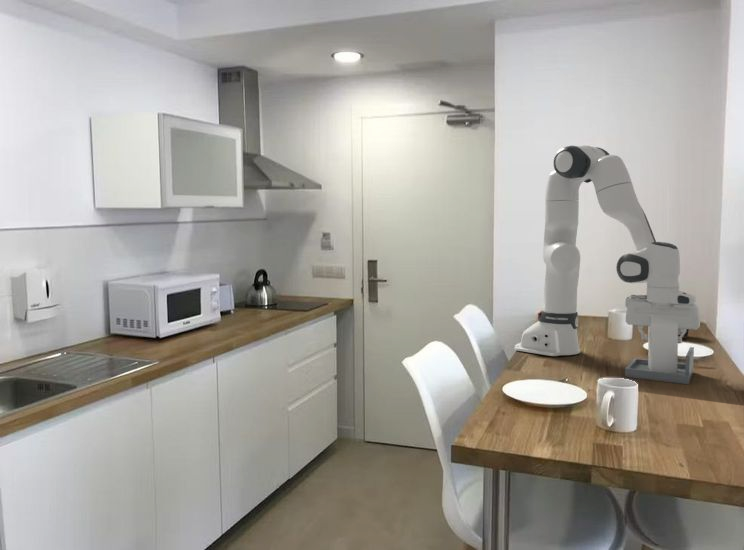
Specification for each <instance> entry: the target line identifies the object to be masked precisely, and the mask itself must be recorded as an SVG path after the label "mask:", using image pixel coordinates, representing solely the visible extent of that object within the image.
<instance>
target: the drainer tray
mask: <svg viewBox="0 0 744 550" xmlns="http://www.w3.org/2000/svg"><path fill="white" fill-rule="evenodd" d="M694 349H695V347H692V346H690V347H689V349H688V351H687V353H686V355H685V363H684V362H678V366H677V374H676V373H667V372H658V371H650V369H649V368H648V358H647V359H644V358H634V357H633V358H632V360H631V361H630V362H629V363H628V364H627V366H626V367H624V377H626V378H633V379H639V380H641V379H643V380H649V381H656V382H667V383H674V384H683V385H689V384H690V381H691V379H692V377H693V373H694V355H695V351H694Z"/></svg>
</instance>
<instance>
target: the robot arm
mask: <svg viewBox="0 0 744 550" xmlns="http://www.w3.org/2000/svg"><path fill="white" fill-rule="evenodd" d="M553 168H554V170H552V171H551V172H550V173H549V174H548V176H547V182H546V188H545V199H544V200H545V203H544V204H545V207H544V208H545V209H544V211H545V212H544V213H545V214H544V233H543V250H542V251H543V253H542V255H543V256H542V258H543V262H544V263H545V265H546V266H545V279H544V287H543V309H542V310H540V311H539V312H538V313H537V316H536V317H537V320H538V321H536V322H535V323H533V324H532V325H530V326H529V327H527V329H525V330H524V331H523V332H522V335H521V339H520V342H518V343H516V344H515V345H514V350H515V351H518V352H525V353H530V354H537V355H543V356H550V357H558V356H572V355H574V356H575V355H578V354H580V353H581V349H580V345H579V344H580V343H579V340H578V331H577V330H578V329H577V328H578V326H579V315H578V311H577V306H578V305H577V304H578V303H577V302H578V286H579V285H578V284H579V279H580V278H579V277H580V267H581V252H580V250H579V248H578V247H577V246H576V245H577V235H578V226H579V212H580V211H579V205H580V204H579V203H580V202H579V201H580V200H579V196H580V194H579V191H580V186H581V185H582V183H587V184H588V183H590V182H592V184H593V187H594V191H595V194H596V198H597V203H598V204H599V207H600V209H601V210H602V212H603V213H604V214H605V215H606V216H607V217H610V218H611V219H614V220H616V221H618V222H619V223H621V224H623V225H624V226H625V228H627V230H628V232H629V233H630V236H631V238H632V242H633V244H634V246H635V249H636V251H632V252H629V253H625V254H623V255H621V256H620V257H619V259H618V260H617V263H616V268H615V269H616V273H617V276H618V277H619V278H620V280H621V281H622V282H624V283H627V284H644V283H646V295H645V294H644V295H643V294H638V295H637V294H630V295H628V296H627V297H626V298H625V302H624V303H625V307H626V313H625V322H626V324H627V325H629V326H630V325H631V326H637V330H638V332H639V334H640V335H641V336H640V337H641V339H640V340H641V341H648V333H645V332H644V330H643V329H644V327H648V326H650V325H651V316H653V317H657V318H661V319H665V320H669V321H673V322H677V323H678V328H681V332H683V333H682V334H681V335H680V337H678V344H683V343H682V342H683V339H682V337H683V336H684V334H685V333H686V329H689V330H698V328H700V325H701V322H700V321H701V318H700V310H699V307H698V306H697V304H695V303H696V302H697V301H696V300H697V299H696V298H697V297H696V296H695V295H693V294H691V293H687V292H684V291H681V290H680V283H679V275H680V273H681V259H680V258H681V257H680V251H679V248H678V247H677V246H676V245H674V244H672V243H669V242H664V241H663V242H662V241H657V240H656V238H655V235H654V233H653V230H652V227H651V225H650V223H649V220H648V218H647V215H646V213H645V212H644V210H643V208H642V206H641V204H640V202H639V199H638V197H637V193H636V191H635V189H634V185H633V182H632V178H631V176H630V173H629V170H628V168H627V166H626V164H625V162H624V160H623V159H622V158H621V157H620V156H618V155H615V154H610V153H609V152H608V151H607V150H605V149H604V148H602V147H598V146H595V147H594V146H590V145H567V146H564V147H562V148H560V149H559V150H558V151H556V153H555V155H554V159H553Z"/></svg>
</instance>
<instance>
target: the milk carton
mask: <svg viewBox="0 0 744 550" xmlns="http://www.w3.org/2000/svg"><path fill="white" fill-rule="evenodd" d="M647 327H648V328H647V329H648V331H647V341H648V342H647V345H648V346H647V347H648V348H647V350H648V351H647V354H648V355H647V357H648V358H647V360H648V368H649V369H650V371H658V372H667V373H676V374H677V366H678V363H679V362H678V360H679V359H678V353H679V351H678V350H679V349H678V348H679V347H678V345H679V343H678V323H677V322H673V321H669V320H665V319H661V318H657V317H653V316H651V325H650V326H647Z"/></svg>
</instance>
